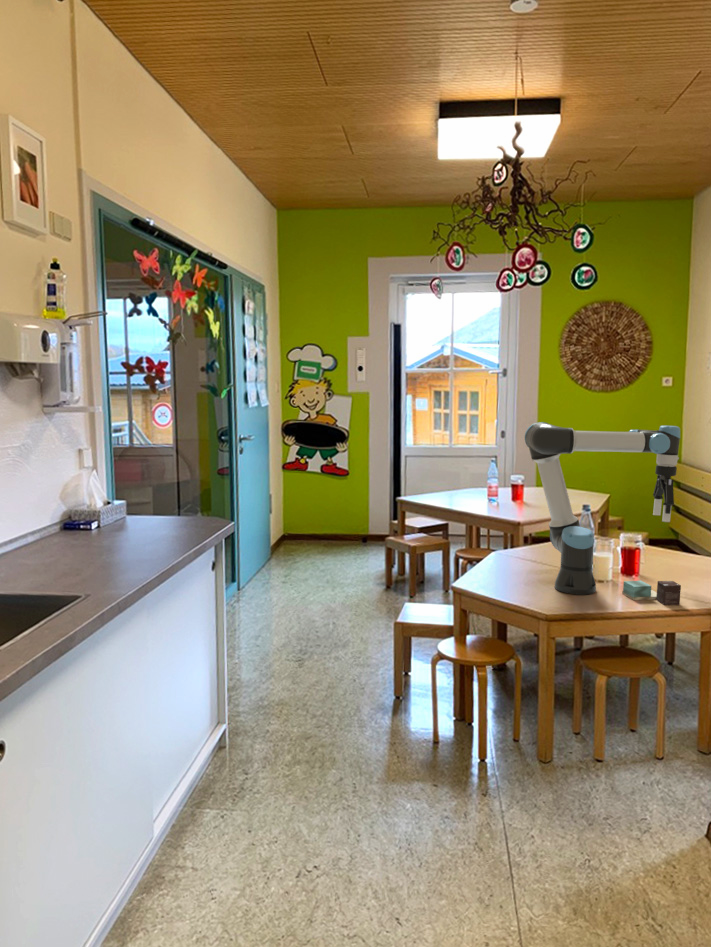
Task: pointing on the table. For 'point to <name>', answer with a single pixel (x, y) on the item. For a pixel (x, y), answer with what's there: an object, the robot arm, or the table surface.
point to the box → (668, 592)
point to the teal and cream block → (638, 590)
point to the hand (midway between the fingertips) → (661, 518)
